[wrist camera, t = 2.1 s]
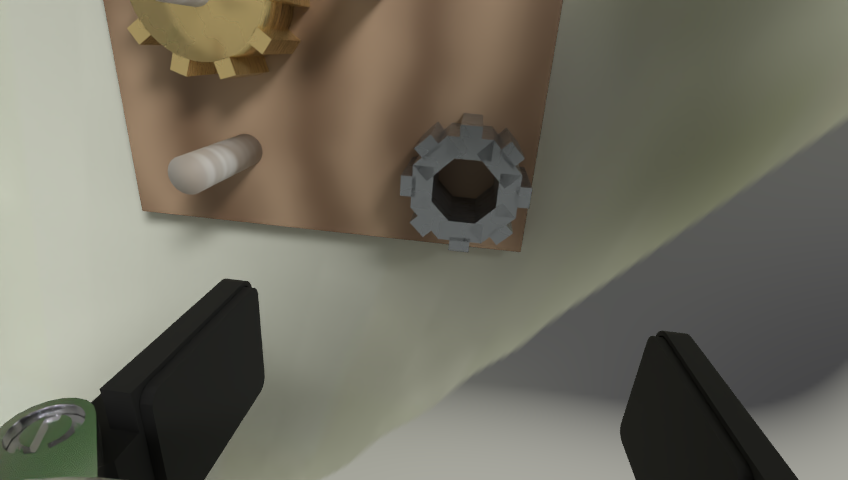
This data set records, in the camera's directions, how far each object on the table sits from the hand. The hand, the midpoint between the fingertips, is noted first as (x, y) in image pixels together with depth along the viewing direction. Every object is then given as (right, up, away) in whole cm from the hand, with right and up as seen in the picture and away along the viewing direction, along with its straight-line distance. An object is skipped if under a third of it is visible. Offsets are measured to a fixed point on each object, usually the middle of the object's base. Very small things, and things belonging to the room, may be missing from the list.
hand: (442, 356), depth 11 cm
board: (-6, +13, +17) cm, 23 cm away
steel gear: (+2, +7, +17) cm, 18 cm away
